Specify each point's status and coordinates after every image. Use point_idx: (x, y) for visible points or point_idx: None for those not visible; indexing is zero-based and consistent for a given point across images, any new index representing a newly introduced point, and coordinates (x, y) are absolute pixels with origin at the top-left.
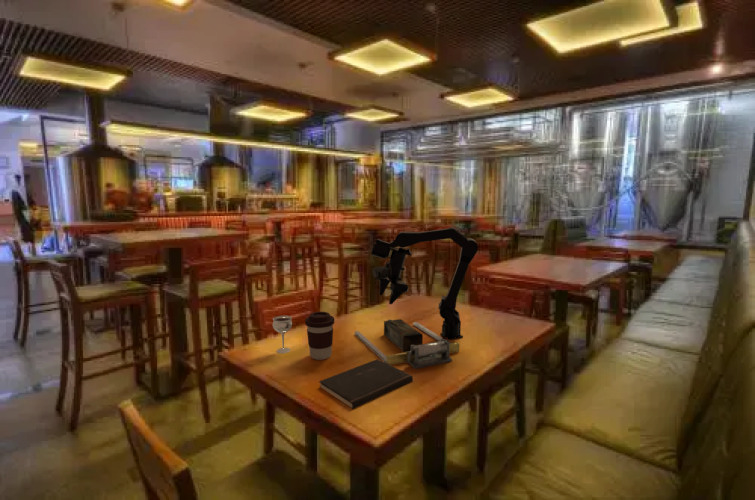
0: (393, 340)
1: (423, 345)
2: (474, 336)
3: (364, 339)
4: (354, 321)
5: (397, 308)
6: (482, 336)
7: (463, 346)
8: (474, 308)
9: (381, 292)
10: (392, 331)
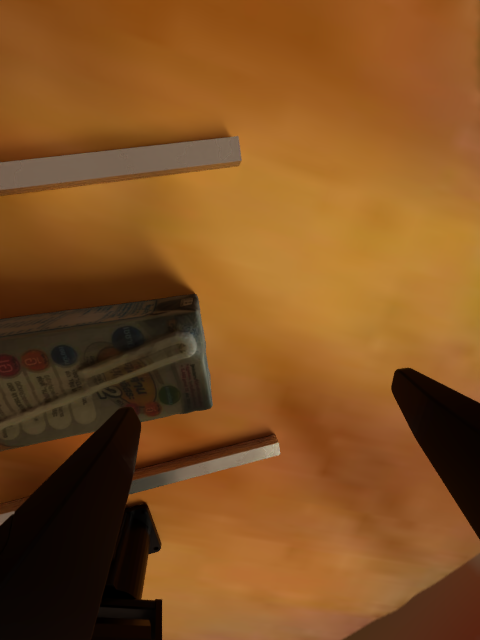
0: (61, 312)
1: None
2: None
3: (96, 157)
4: (410, 195)
5: None
6: None
7: None
8: (355, 623)
9: (415, 403)
10: (55, 323)
